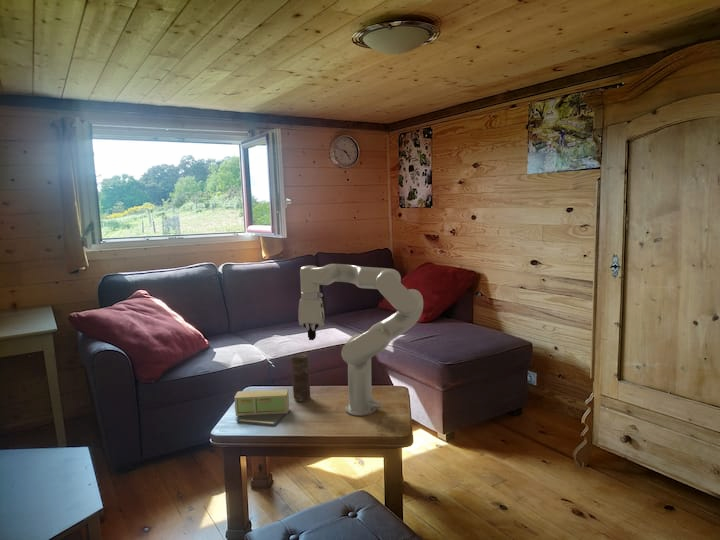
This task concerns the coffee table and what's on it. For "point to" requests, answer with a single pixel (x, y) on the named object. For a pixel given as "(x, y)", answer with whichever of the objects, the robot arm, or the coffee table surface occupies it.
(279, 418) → the mat
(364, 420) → the coffee table surface
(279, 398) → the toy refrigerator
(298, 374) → the brown rounded cylinder
